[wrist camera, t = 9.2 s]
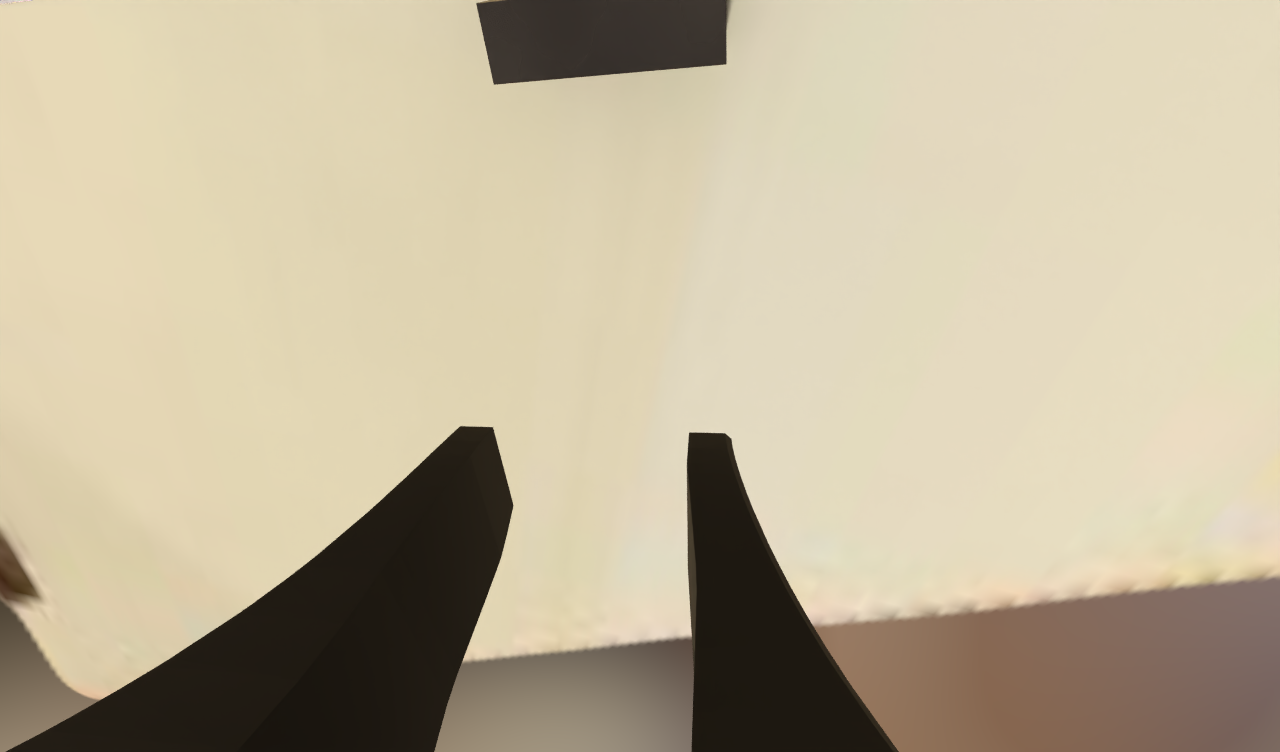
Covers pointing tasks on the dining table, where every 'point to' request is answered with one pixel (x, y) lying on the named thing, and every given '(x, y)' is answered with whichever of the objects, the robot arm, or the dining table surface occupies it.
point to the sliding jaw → (599, 37)
